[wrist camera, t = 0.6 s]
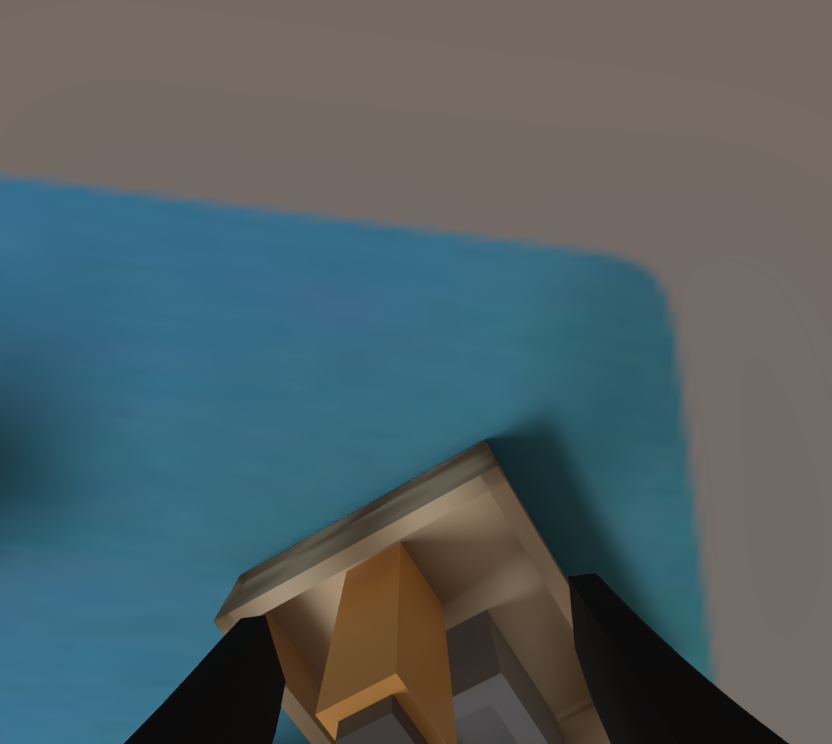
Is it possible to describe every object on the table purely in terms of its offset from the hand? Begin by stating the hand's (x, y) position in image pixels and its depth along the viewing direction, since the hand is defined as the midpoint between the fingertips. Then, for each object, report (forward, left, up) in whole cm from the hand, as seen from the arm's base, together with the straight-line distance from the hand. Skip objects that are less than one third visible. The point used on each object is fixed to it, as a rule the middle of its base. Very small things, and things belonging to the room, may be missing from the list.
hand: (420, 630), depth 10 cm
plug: (-4, -5, -10) cm, 12 cm away
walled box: (-4, -9, -11) cm, 14 cm away
